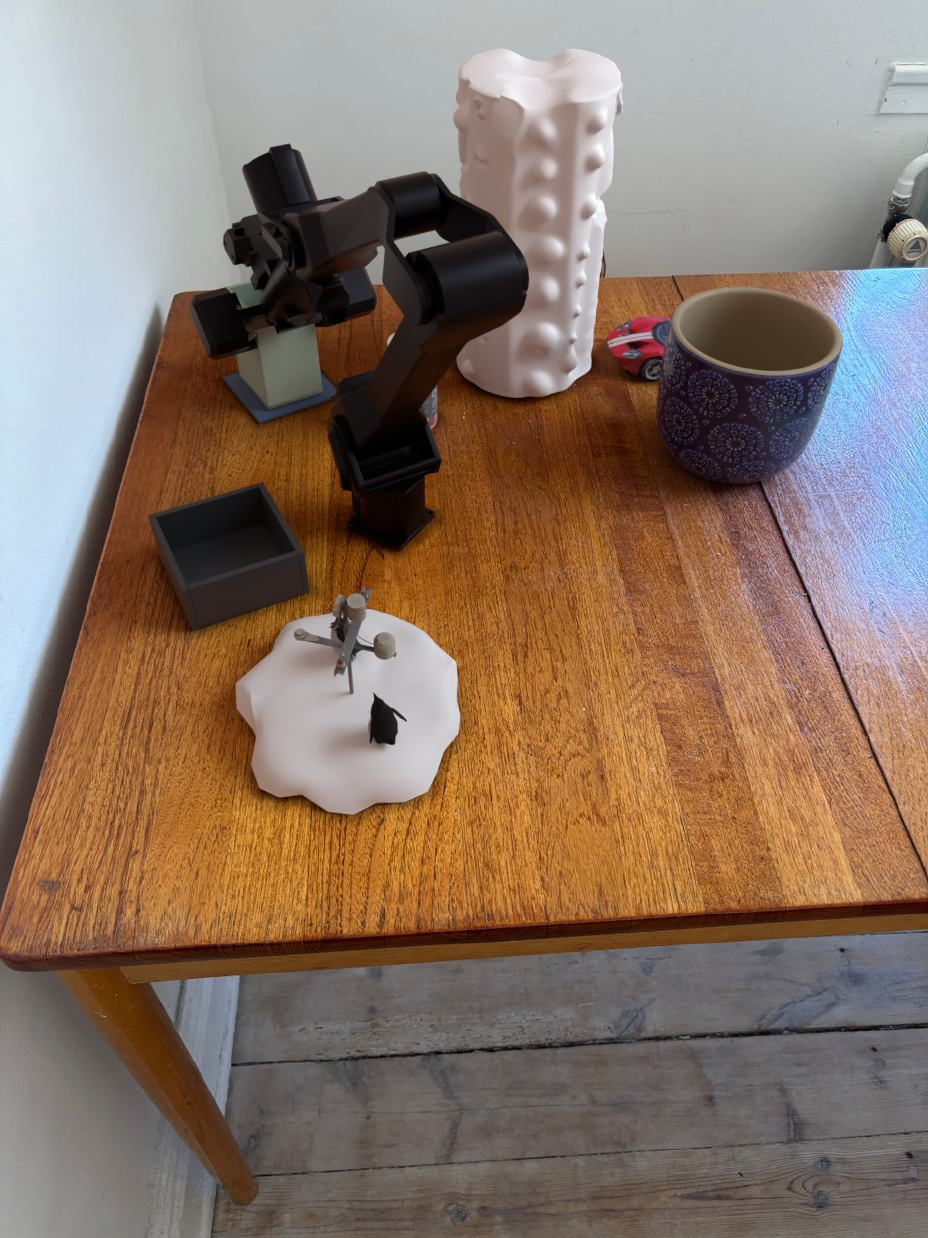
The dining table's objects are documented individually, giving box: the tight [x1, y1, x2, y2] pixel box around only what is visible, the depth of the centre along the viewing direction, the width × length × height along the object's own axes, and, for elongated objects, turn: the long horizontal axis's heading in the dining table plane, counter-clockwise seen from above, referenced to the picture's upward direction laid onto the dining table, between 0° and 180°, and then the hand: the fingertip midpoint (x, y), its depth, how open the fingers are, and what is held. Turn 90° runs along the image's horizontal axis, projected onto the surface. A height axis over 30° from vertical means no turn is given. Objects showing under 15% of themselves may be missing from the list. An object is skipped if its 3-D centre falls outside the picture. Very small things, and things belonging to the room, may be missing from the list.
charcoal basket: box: [147, 481, 311, 632], centre depth 92 cm, size 11×11×5 cm
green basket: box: [225, 279, 323, 410], centre depth 111 cm, size 8×7×11 cm
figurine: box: [235, 586, 461, 816], centre depth 77 cm, size 20×18×16 cm
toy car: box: [606, 316, 671, 381], centre depth 118 cm, size 10×22×5 cm, turn 93°
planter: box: [655, 286, 844, 485], centre depth 102 cm, size 17×17×15 cm
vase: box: [452, 47, 625, 399], centre depth 108 cm, size 17×16×32 cm
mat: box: [222, 371, 337, 424], centre depth 115 cm, size 10×10×1 cm
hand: (268, 330), depth 111 cm, fingers closed on green basket, 6 cm apart
